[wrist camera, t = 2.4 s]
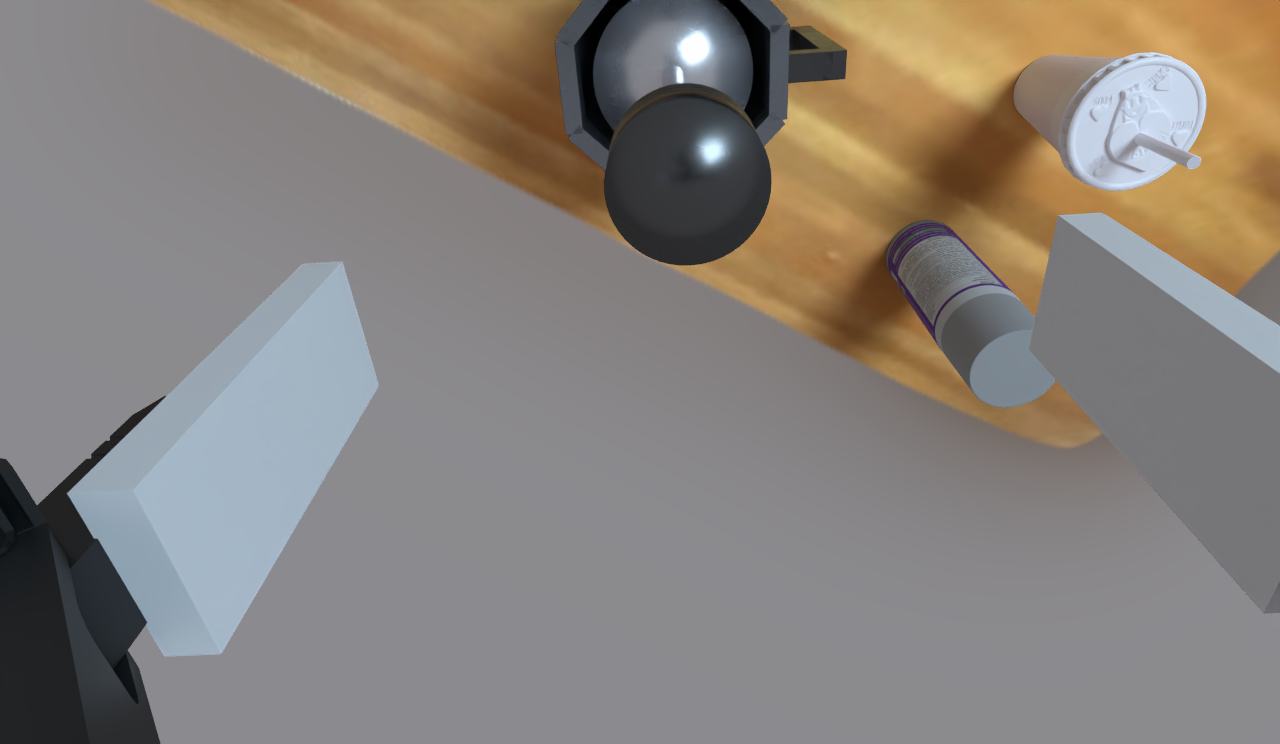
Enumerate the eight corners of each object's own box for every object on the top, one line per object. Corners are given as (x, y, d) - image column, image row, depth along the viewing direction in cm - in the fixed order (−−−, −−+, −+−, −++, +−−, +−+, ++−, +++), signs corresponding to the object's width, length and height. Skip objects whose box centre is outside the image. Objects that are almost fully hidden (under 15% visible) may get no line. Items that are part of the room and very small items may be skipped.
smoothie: (1003, 161, 46) (1126, 245, 34) (977, 62, 44) (1101, 116, 32) (1111, 113, 45) (1279, 183, 33) (1092, 7, 42) (1268, 42, 30)
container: (958, 278, 50) (1063, 400, 38) (888, 292, 51) (967, 417, 38) (957, 212, 48) (1068, 318, 35) (882, 228, 49) (965, 338, 36)
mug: (571, -49, 41) (544, -39, 31) (807, -69, 40) (859, -65, 30) (591, 137, 46) (573, 199, 36) (800, 123, 45) (843, 182, 35)
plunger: (586, -7, 33) (532, 51, 18) (751, -21, 33) (833, 28, 18) (602, 157, 37) (568, 317, 22) (750, 147, 36) (818, 303, 21)
